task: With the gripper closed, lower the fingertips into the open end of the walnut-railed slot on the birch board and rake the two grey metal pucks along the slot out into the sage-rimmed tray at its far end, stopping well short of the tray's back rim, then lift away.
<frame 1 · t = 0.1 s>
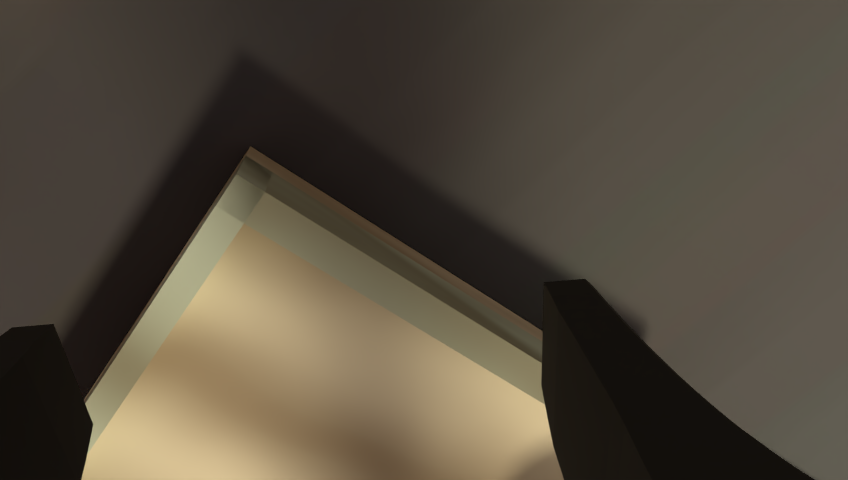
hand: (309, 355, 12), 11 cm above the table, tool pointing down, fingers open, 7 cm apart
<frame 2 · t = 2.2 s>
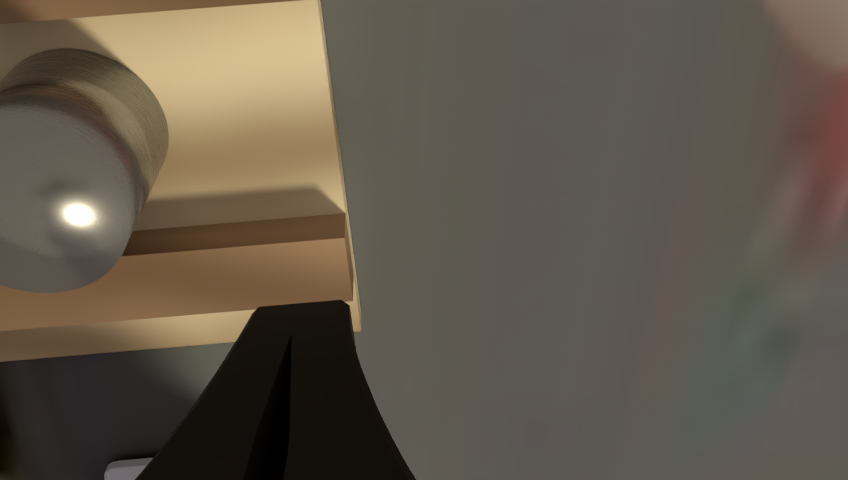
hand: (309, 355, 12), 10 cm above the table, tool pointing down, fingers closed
puck 1: (84, 127, 20), point 1 cm above the table, touching slot board
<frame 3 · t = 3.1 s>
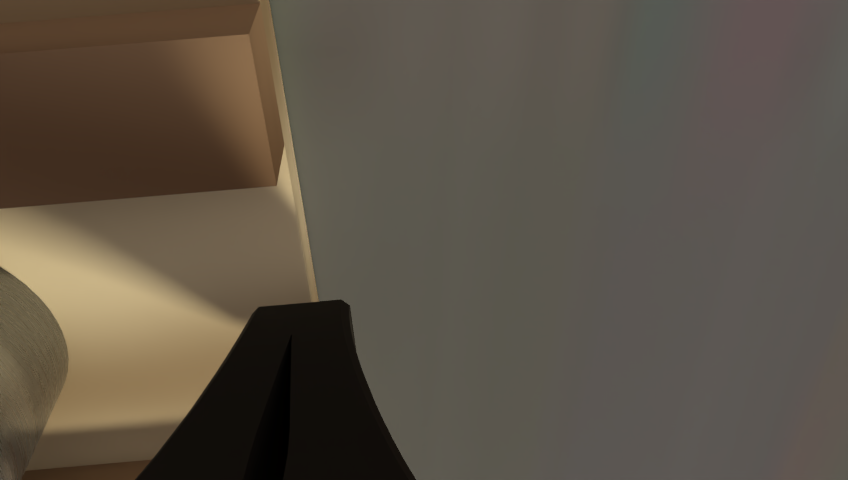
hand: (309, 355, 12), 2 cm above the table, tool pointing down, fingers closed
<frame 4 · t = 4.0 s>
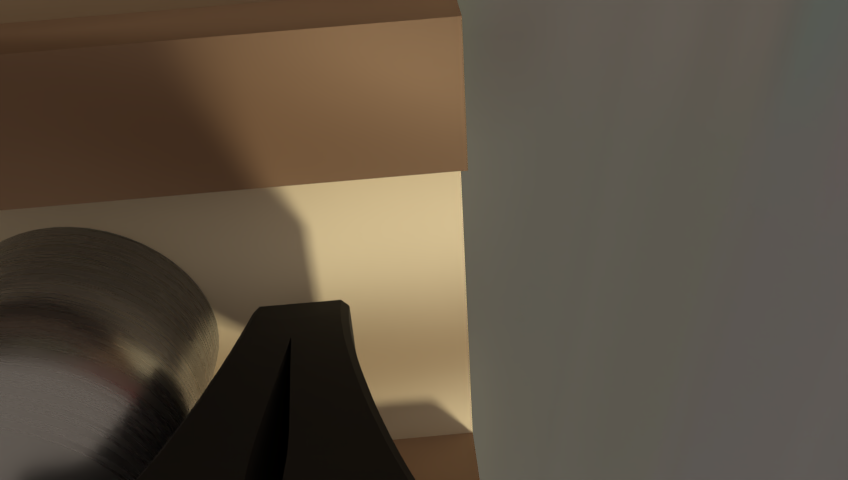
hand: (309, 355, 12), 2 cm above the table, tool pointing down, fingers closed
puck 1: (91, 333, 13), point 1 cm above the table, touching gripper, slot board
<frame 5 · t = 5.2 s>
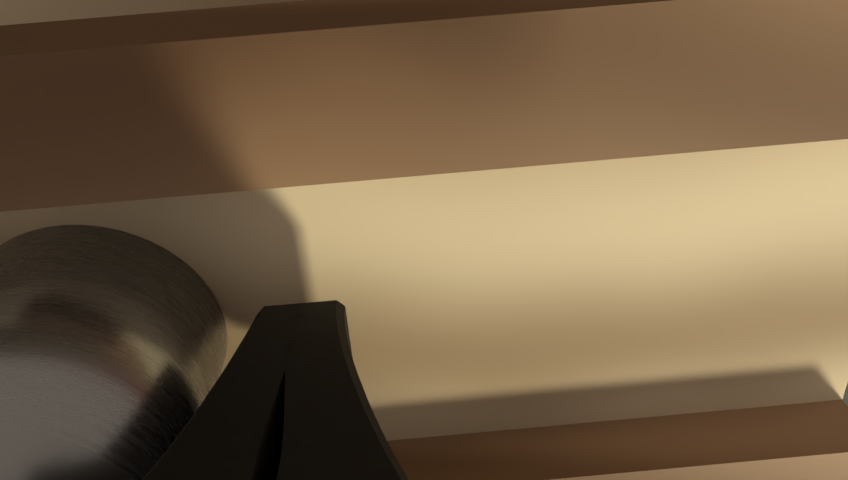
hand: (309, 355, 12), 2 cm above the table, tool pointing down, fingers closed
puck 1: (99, 331, 13), point 1 cm above the table, touching gripper, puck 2
slot board: (61, 307, 14), on the table
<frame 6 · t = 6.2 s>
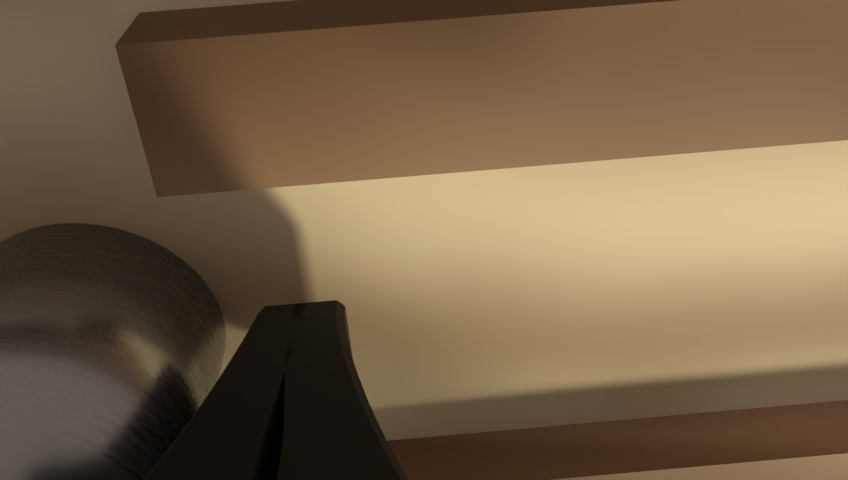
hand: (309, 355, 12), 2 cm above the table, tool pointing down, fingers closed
puck 1: (98, 330, 13), point 1 cm above the table, touching gripper, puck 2, slot board
slot board: (195, 294, 14), on the table
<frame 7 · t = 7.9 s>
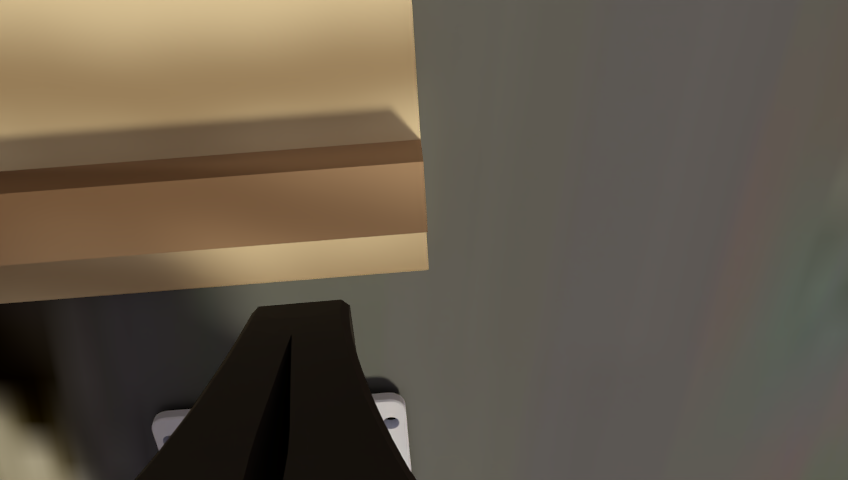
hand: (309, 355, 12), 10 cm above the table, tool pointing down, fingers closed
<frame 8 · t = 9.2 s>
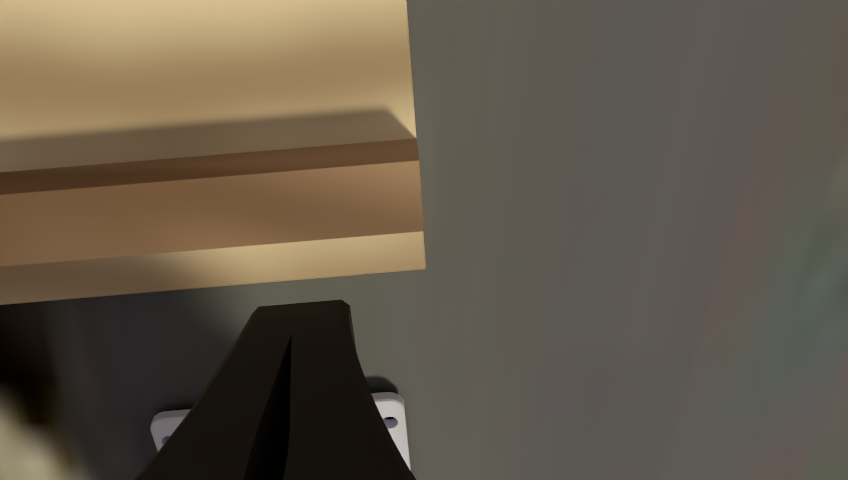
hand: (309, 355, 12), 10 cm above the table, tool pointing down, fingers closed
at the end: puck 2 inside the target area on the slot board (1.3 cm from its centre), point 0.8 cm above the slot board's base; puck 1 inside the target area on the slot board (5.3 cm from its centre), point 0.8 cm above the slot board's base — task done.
